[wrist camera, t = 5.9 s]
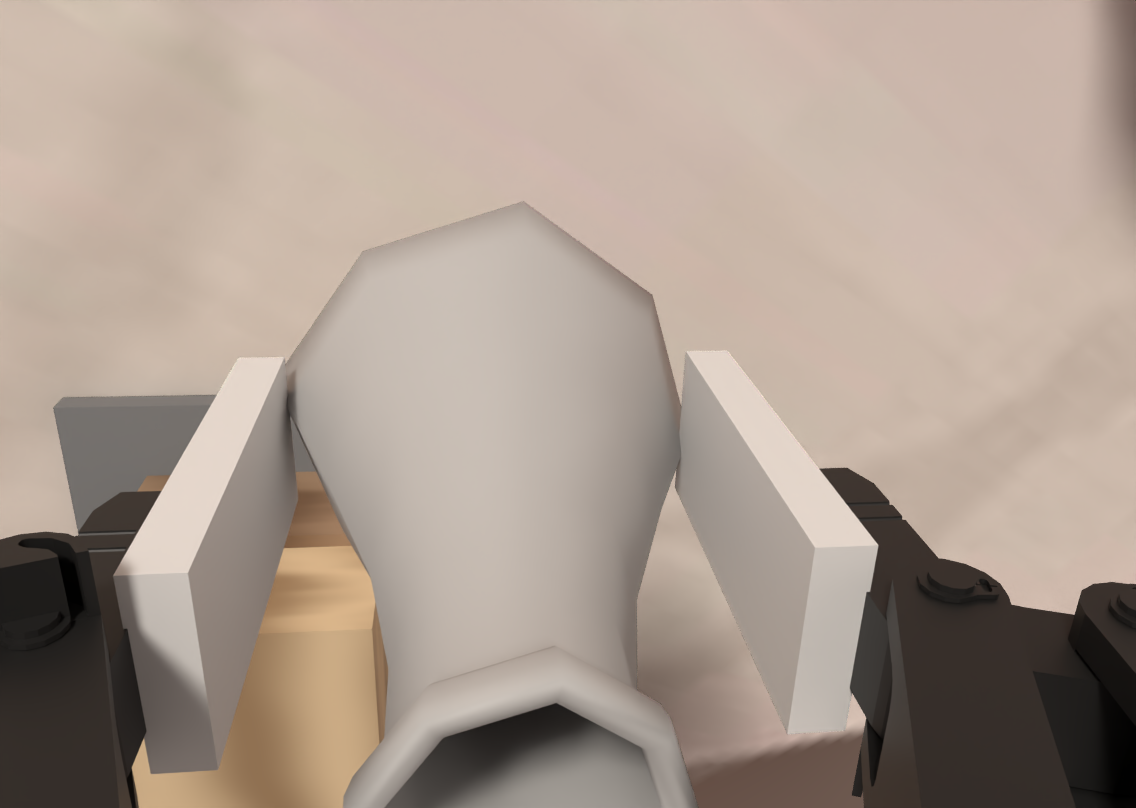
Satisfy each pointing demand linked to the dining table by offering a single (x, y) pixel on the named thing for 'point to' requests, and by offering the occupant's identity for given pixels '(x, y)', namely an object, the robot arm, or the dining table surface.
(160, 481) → the walnut block
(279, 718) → the oak block
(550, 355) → the flask
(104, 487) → the grey mat
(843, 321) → the dining table surface
